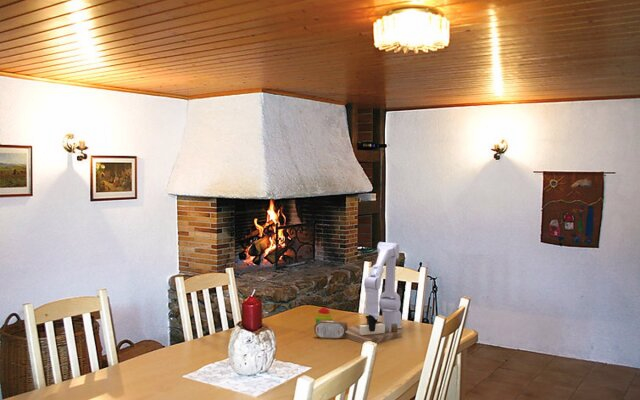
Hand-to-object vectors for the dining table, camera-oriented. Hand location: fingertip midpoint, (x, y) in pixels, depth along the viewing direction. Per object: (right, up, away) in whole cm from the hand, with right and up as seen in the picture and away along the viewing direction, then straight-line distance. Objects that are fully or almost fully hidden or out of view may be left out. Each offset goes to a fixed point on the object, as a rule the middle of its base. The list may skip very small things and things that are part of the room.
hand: (372, 331), depth 276 cm
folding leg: (+1, -2, +3) cm, 4 cm away
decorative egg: (-22, -3, +24) cm, 33 cm away
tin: (-20, -5, +4) cm, 21 cm away
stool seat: (-1, -4, +8) cm, 9 cm away
